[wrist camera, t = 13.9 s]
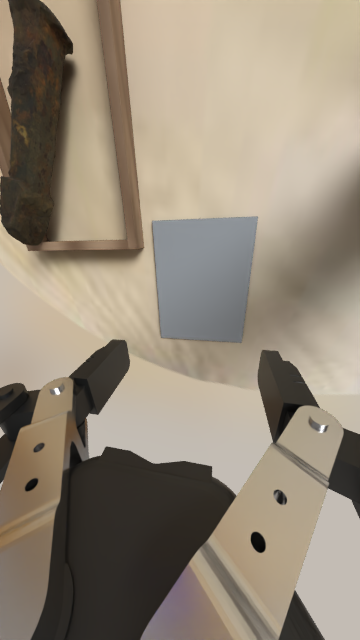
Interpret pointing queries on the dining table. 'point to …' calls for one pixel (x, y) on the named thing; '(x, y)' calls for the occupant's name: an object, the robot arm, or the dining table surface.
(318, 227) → the dining table surface
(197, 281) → the mat
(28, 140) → the hand tool
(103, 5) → the wooden frame
